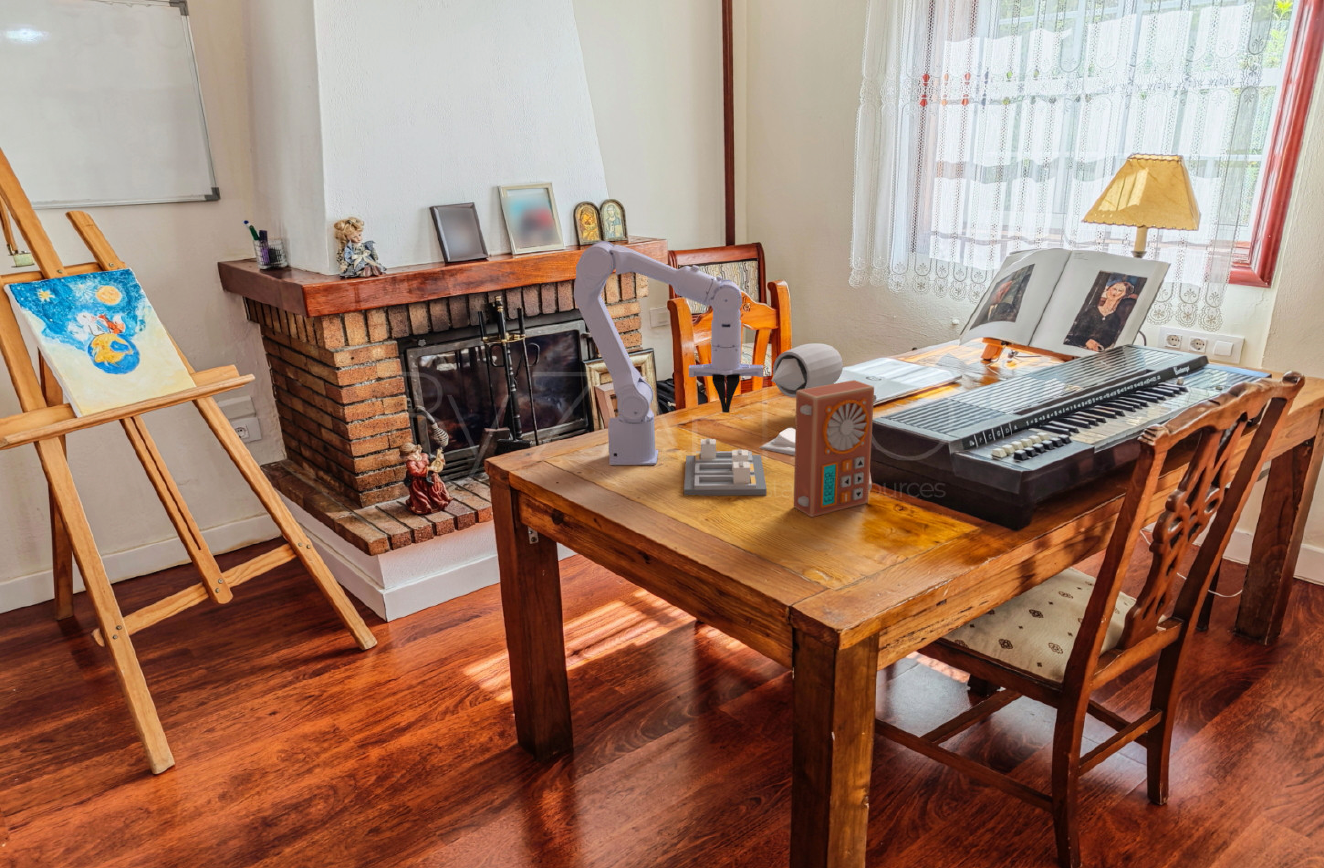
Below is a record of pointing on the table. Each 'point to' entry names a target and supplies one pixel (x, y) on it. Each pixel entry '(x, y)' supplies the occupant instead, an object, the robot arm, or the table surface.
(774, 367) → the jet engine
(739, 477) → the slider near
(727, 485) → the switch unit
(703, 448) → the slider far
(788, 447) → the light switch
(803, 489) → the control panel
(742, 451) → the slider mid
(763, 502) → the table surface
